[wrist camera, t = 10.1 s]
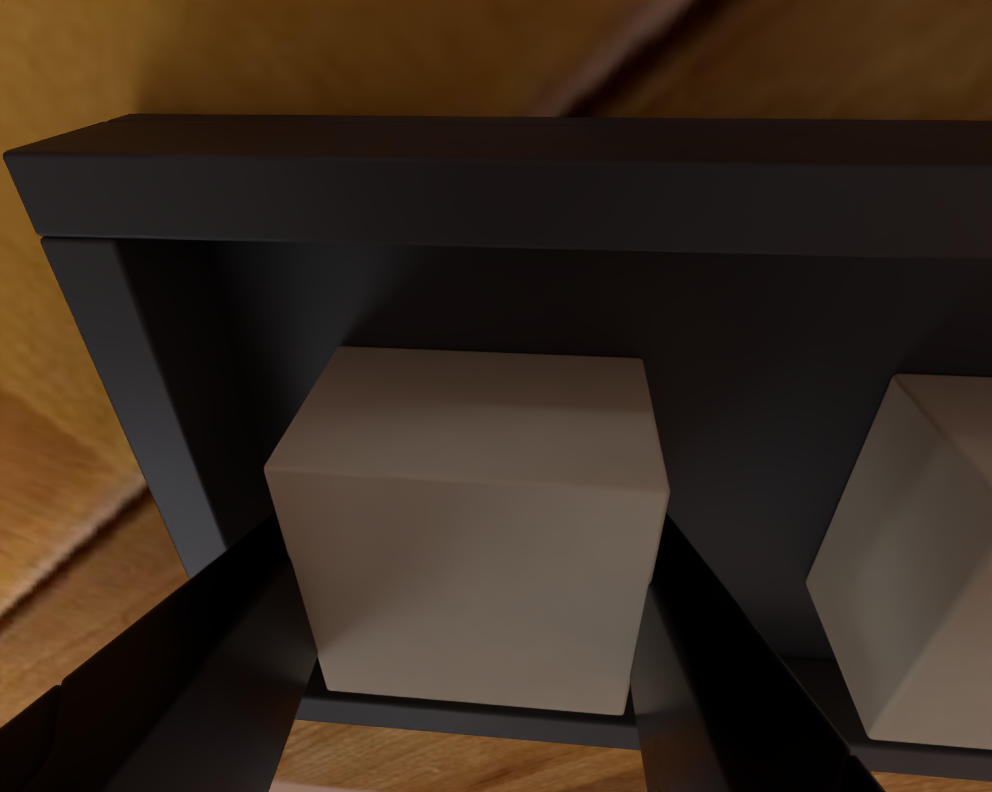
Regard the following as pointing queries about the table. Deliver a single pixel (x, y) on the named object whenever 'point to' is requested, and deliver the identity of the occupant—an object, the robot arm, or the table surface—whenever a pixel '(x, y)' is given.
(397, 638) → the loose pad
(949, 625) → the pad
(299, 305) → the tray
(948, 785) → the table surface
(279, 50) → the table surface
